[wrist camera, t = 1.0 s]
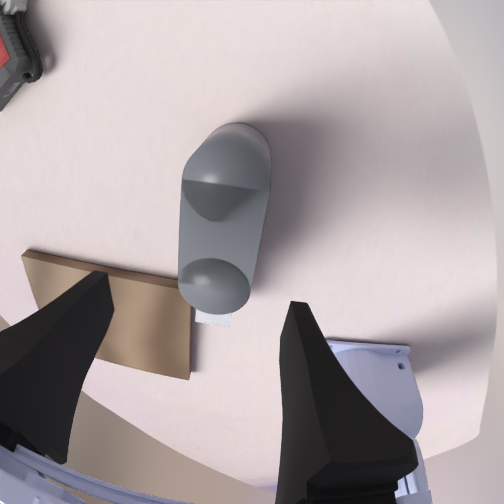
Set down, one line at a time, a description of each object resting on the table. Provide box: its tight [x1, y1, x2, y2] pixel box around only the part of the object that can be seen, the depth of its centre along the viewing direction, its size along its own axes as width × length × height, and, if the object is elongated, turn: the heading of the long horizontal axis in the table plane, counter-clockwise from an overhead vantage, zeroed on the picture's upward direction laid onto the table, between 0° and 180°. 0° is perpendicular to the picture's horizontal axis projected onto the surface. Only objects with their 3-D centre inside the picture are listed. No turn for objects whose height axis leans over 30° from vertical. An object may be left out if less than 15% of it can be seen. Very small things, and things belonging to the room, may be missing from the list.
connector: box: [178, 123, 271, 327], centre depth 18 cm, size 4×13×5 cm, turn 171°
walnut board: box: [21, 250, 192, 380], centre depth 26 cm, size 16×12×1 cm
